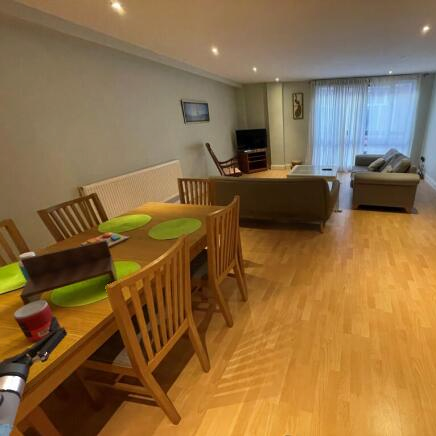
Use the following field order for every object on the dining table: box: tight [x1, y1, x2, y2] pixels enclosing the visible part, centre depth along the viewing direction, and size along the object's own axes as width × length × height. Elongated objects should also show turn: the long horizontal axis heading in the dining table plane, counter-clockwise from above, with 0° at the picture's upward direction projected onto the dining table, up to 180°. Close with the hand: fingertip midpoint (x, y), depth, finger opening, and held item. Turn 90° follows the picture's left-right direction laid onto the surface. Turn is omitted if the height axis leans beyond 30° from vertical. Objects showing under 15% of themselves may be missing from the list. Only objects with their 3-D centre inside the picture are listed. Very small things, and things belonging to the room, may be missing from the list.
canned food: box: [13, 299, 55, 343], centre depth 82 cm, size 8×8×11 cm
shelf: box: [19, 240, 118, 306], centre depth 102 cm, size 28×16×17 cm, turn 126°
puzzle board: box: [80, 231, 130, 248], centre depth 146 cm, size 18×19×4 cm
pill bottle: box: [17, 251, 36, 282], centre depth 110 cm, size 8×7×14 cm
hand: (25, 330), depth 73 cm, fingers open, 13 cm apart
